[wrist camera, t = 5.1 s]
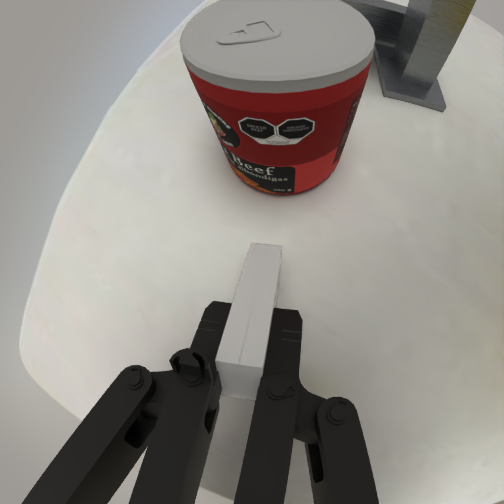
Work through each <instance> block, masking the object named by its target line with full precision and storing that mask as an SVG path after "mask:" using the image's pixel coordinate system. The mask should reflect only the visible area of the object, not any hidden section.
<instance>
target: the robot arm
mask: <svg viewBox="0 0 504 504" xmlns="http://www.w3.org/2000/svg"><path fill="white" fill-rule="evenodd" d="M281 254H282V246H280V245H270V244H260V243H251V244H250V247H249V250H248V254H247V257H246V260H245V263H244V267H243V270H242V273H241V277H240V280H239V283H238V286H237V290H236V293H235V296H234V300H233V303H225V302H218V301H213V302H212V303H211V304H210V305H209V306H208V307H207V308H206V309H205V311H204V313H203V316H202V318H201V321H200V324H199V326H198V329H197V331H196V334H195V337H194V339H193V342H192V345H191V347H190V348H186V349H183V350H179V351H178V352H176V353H175V354H174V355H173V356H172V357H171V359H170V360H169V361H170V364H171V366H172V368H173V370H170V371H161V372H150V371H149V370H147V369H146V368H145V367H143V366H140V365H132V366H129V367H127V368H125V369H124V370H123V371H122V372H121V373H120V374H119V375H118V377H117V378H116V379H115V380H114V382H113V383H112V384H111V385H110V387H109V388H108V389H107V390H106V392H105V393H104V394H103V395H102V397H101V398H100V399H99V401H98V402H97V403H96V404H95V406H94V407H93V408H92V409H91V411H90V412H89V413H88V415H87V416H86V417H85V418H84V420H83V421H82V422H81V424H80V425H79V426H78V428H77V429H76V430H75V432H74V433H73V434H72V435H71V437H70V438H69V439H68V441H67V442H66V443H65V445H64V446H63V447H62V449H61V450H60V451H59V453H58V454H57V455H56V457H55V458H54V460H53V461H52V462H51V463H50V465H49V466H48V468H47V469H46V471H45V472H44V473H43V474H42V476H41V477H40V479H39V480H38V481H37V483H36V484H35V485H34V487H33V488H32V490H31V491H30V492H29V494H28V495H27V497H26V498H25V500H24V501H23V502H22V504H107V503H108V502H109V501H110V499H111V498H112V496H113V495H114V493H115V492H116V491H117V489H118V488H119V487H120V485H121V484H122V482H123V481H124V479H125V478H126V477H127V475H128V474H129V472H130V471H131V469H132V468H133V467H134V465H135V463H136V462H137V461H138V459H139V458H140V456H141V455H142V454H143V452H144V451H145V449H146V448H147V446H148V448H147V450H146V453H145V456H144V459H143V462H142V465H141V468H140V471H139V474H138V477H137V480H136V483H135V486H134V489H133V492H132V495H131V498H130V501H129V504H194V503H195V499H196V496H197V491H198V488H199V484H200V481H201V477H202V473H203V469H204V466H205V462H206V458H207V454H208V450H209V447H210V443H211V439H212V435H213V431H214V427H215V424H216V420H217V416H218V412H219V399H220V395H221V391H222V395H224V396H229V397H235V398H241V399H248V400H255V406H254V411H253V416H252V421H251V426H250V431H249V436H248V441H247V446H246V450H245V455H244V460H243V464H242V469H241V473H240V478H239V482H238V487H237V491H236V495H235V500H234V504H284V498H285V493H286V486H287V480H288V474H289V467H290V460H291V453H292V446H293V438H295V439H297V440H300V441H302V442H305V448H306V455H307V461H308V467H309V473H310V479H311V486H312V492H313V499H314V504H379V501H378V496H377V491H376V487H375V482H374V477H373V473H372V469H371V464H370V460H369V456H368V452H367V448H366V444H365V440H364V436H363V432H362V428H361V424H360V421H359V417H358V413H357V410H356V408H355V406H354V404H353V403H352V402H350V401H349V400H348V399H345V398H342V397H332V398H329V399H325V398H322V397H319V396H317V395H314V394H312V393H310V392H308V391H307V390H306V389H305V388H304V387H303V386H302V384H301V382H300V379H299V365H300V352H301V338H302V322H303V320H302V318H301V316H300V314H299V311H298V310H290V309H280V308H276V303H277V296H278V289H279V278H280V266H281Z"/></svg>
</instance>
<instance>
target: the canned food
mask: <svg viewBox="0 0 504 504" xmlns="http://www.w3.org/2000/svg"><path fill="white" fill-rule="evenodd" d="M374 42H375V35H374V31H373V28H372V26H371V25H370V23H369V22H368V20H367V19H366V18H365V17H364V16H363V15H362V14H361V13H360V12H359V11H357V10H356V9H354V8H353V7H351V6H350V5H348V4H346V3H344V2H342V1H340V0H220V1H217V2H215V3H214V4H212V5H210V6H208V7H206V8H205V9H203V10H202V11H201V12H199V13H198V14H197V15H195V16H194V17H193V18H192V19H191V20H190V21H189V22H188V24H187V25H186V27H185V28H184V30H183V32H182V35H181V39H180V47H181V51H182V54H183V59H184V62H185V64H186V67H187V69H188V71H189V74H190V77H191V79H192V81H193V83H194V86H195V88H196V90H197V92H198V94H199V97H200V99H201V101H202V103H203V105H204V108H205V110H206V112H207V114H208V117H209V119H210V121H211V123H212V125H213V128H214V130H215V132H216V134H217V137H218V139H219V141H220V143H221V146H222V148H223V150H224V152H225V155H226V157H227V159H228V161H229V163H230V165H231V167H232V169H233V171H234V172H235V173H236V174H237V175H238V177H239V178H240V179H242V180H243V181H244V182H246V183H247V184H248V185H250V186H252V187H254V188H256V189H259V190H261V191H264V192H267V193H271V194H280V195H286V194H295V193H299V192H303V191H306V190H308V189H310V188H313V187H315V186H316V185H318V184H319V183H321V182H322V181H323V180H325V179H326V178H327V177H328V176H329V175H330V174H331V173H332V172H333V171H334V169H335V167H336V166H337V164H338V162H339V159H340V156H341V154H342V151H343V148H344V145H345V143H346V140H347V137H348V134H349V131H350V128H351V125H352V122H353V120H354V117H355V114H356V111H357V108H358V105H359V102H360V98H361V95H362V92H363V89H364V86H365V83H366V80H367V76H368V72H369V68H370V64H371V61H372V58H373V52H374Z"/></svg>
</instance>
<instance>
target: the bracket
mask: <svg viewBox="0 0 504 504" xmlns="http://www.w3.org/2000/svg"><path fill="white" fill-rule="evenodd" d="M340 1H342V2H344V3H346V4H348V5H350V6H351V7H353V8H354V9H356V10H357V11H359V12H360V13H361V14H362V15H363V16H364V17H365V18H366V19H367V20H368V22H369V23H370V25H371V26H372V28H373V31H374V35H375V42H374V54H375V58H376V62H377V66H378V71H379V75H380V80H381V85H382V90H383V95H384V96H385V97H390V98H394V99H398V100H402V101H406V102H410V103H414V104H418V105H421V106H425V107H428V108H431V109H435V110H438V111H441V112H443V111H444V110H445V109H446V104H445V101H444V98H443V95H442V92H441V89H440V86H439V83H438V81H437V76H438V74H439V72H440V71H441V69H442V67H443V65H444V63H445V61H446V60H447V58H448V56H449V54H450V52H451V50H452V48H453V47H454V45H455V43H456V41H457V39H458V37H459V35H460V33H461V31H462V29H463V27H464V25H465V23H466V21H467V19H468V17H469V14H470V12H471V10H472V8H473V6H474V4H475V1H476V0H409V3H408V7H405V6H402V5H398V4H395V3H391V2H387V1H383V0H340Z"/></svg>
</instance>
